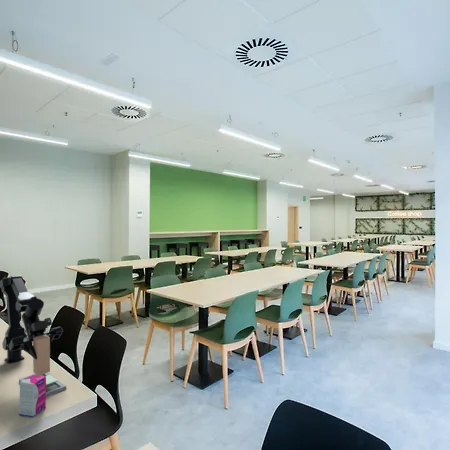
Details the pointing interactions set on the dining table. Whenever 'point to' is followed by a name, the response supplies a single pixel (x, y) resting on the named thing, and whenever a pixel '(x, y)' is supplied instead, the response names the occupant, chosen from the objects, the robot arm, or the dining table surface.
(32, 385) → the supplement box
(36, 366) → the tan tall block
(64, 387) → the tray
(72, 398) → the dining table surface
